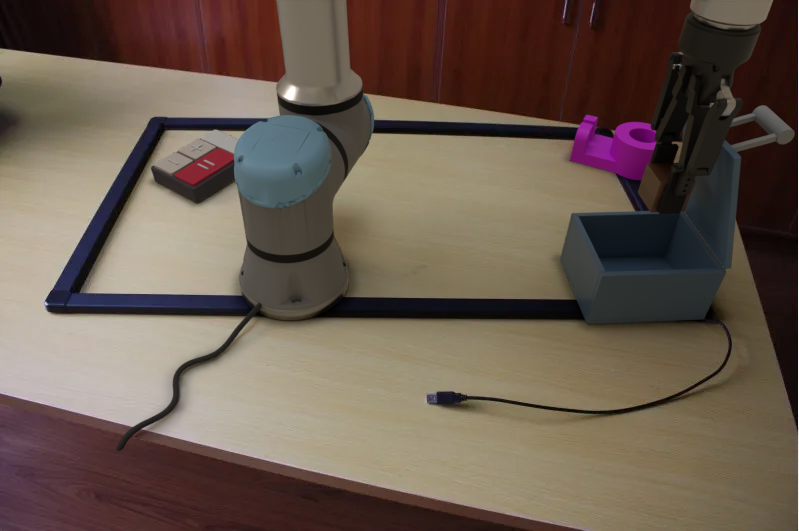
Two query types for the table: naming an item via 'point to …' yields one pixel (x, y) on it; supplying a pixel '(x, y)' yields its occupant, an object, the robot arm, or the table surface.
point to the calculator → (198, 166)
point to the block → (657, 185)
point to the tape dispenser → (615, 148)
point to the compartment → (639, 267)
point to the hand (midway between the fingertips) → (660, 199)
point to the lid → (729, 185)
